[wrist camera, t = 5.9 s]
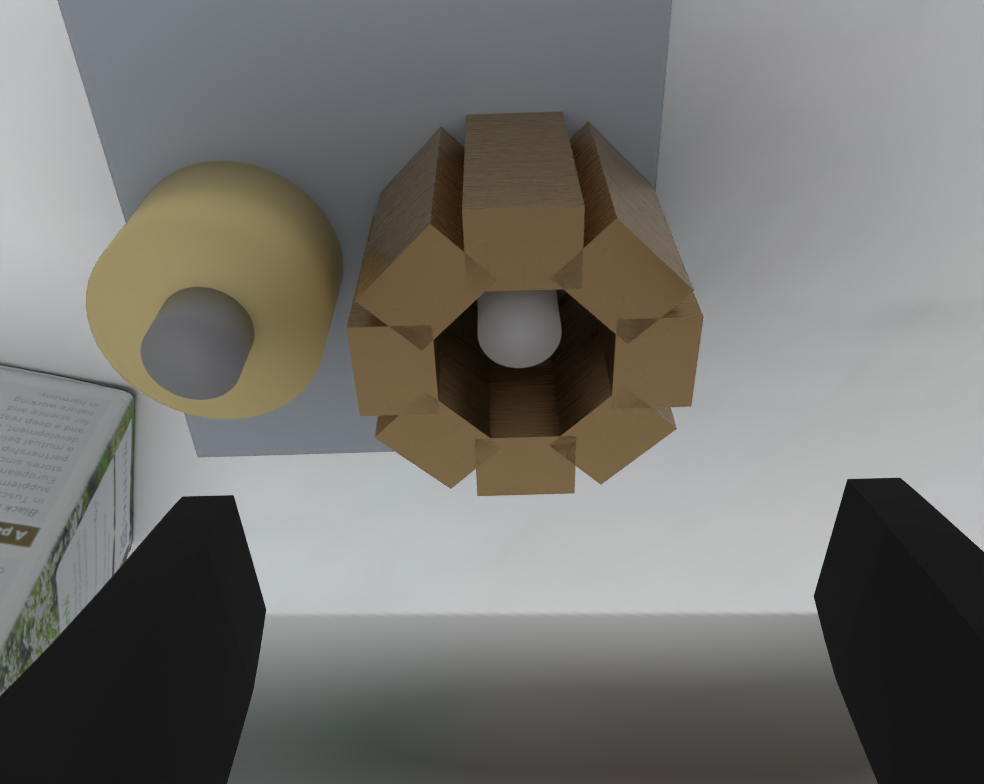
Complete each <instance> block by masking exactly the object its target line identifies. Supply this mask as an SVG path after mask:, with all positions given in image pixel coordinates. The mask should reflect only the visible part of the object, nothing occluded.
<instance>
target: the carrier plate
mask: <svg viewBox="0 0 984 784" xmlns="http://www.w3.org/2000/svg"><path fill="white" fill-rule="evenodd" d="M671 3H672V0H58V4H59V7H60V10H61V13H62V17H63V20H64V23H65V26H66V30H67V33H68V36H69V39H70V43H71V46H72V49H73V52H74V56H75V59H76V62H77V65H78V69H79V72H80V75H81V78H82V82H83V85H84V88H85V91H86V95H87V98H88V101H89V105H90V108H91V111H92V114H93V118H94V121H95V124H96V127H97V131H98V134H99V137H100V140H101V144H102V147H103V150H104V153H105V157H106V160H107V163H108V166H109V170H110V173H111V176H112V179H113V183H114V186H115V189H116V192H117V196H118V199H119V202H120V205H121V209H122V212H123V215H124V218H125V222H126V224H125V225H124V226H123V228H122V229H121V230H120V232H119V233H118V234H117V236H116V237H115V238H114V239H113V241H112V242H111V243H110V245H109V246H108V247H107V249H106V250H105V251H104V252H103V254H102V255H101V256H100V258H99V260H98V261H97V263H96V264H95V266H94V268H93V270H92V273H91V275H90V278H89V281H88V286H87V291H86V310H87V317H88V321H89V325H90V328H91V332H92V334H93V336H94V339H95V341H96V343H97V345H98V347H99V348H100V350H101V352H102V353H103V355H104V357H105V358H106V359H107V360H108V362H109V363H110V364H111V366H112V367H113V368H114V369H115V370H116V371H117V372H118V373H119V374H120V375H121V376H122V377H123V378H124V379H125V380H126V381H127V382H129V383H130V384H131V385H132V386H133V387H134V388H136V389H137V390H139V391H140V392H142V393H143V394H145V395H146V396H148V397H150V398H151V399H153V400H155V401H157V402H159V403H161V404H163V405H165V406H168V407H170V408H172V409H175V410H178V411H181V412H184V414H185V417H186V420H187V424H188V427H189V430H190V433H191V437H192V440H193V443H194V446H195V450H196V453H197V456H198V457H226V456H259V455H293V454H326V453H359V452H393V451H394V450H392V449H391V448H389V447H388V446H386V445H385V444H383V443H382V442H380V441H379V440H377V439H376V438H375V432H376V425H377V419H378V416H360V413H359V407H358V400H357V394H356V387H355V381H354V374H353V368H352V361H351V355H350V348H349V342H348V335H347V329H346V327H347V323H348V319H349V315H350V310H351V306H352V302H353V298H354V294H355V289H356V285H357V281H358V277H359V273H360V268H361V264H362V260H363V256H364V252H365V247H366V243H367V239H368V235H369V231H370V226H371V222H372V218H373V215H375V214H376V209H377V205H378V201H379V197H380V192H381V191H382V190H383V189H384V188H385V187H386V186H387V185H388V183H389V182H390V181H391V180H392V179H393V178H394V177H395V176H396V175H397V174H398V172H399V171H400V170H401V169H402V168H403V167H404V166H405V165H406V164H407V163H408V162H409V160H410V159H411V158H412V157H413V156H414V155H415V154H416V153H417V152H418V151H419V150H420V148H421V147H422V146H423V145H424V144H425V143H426V142H427V141H428V140H429V139H430V137H431V136H432V135H433V134H434V133H435V132H436V131H437V130H438V129H439V128H440V127H443V128H444V129H445V130H446V131H447V132H448V133H449V134H450V135H451V136H453V137H454V138H455V139H456V140H457V141H458V142H459V143H460V144H461V145H463V146H464V147H465V132H466V115H469V114H499V113H529V112H560V111H563V115H564V119H565V123H566V128H567V132H568V136H569V140H570V139H571V138H572V137H573V136H574V135H575V134H576V133H577V132H578V131H579V130H580V129H581V128H582V127H583V126H584V125H585V124H586V123H587V122H588V121H589V122H590V123H591V124H592V125H593V126H594V127H595V128H596V129H597V130H598V131H599V132H600V133H601V134H602V135H603V136H604V137H605V138H606V139H607V140H608V141H609V142H610V143H611V144H612V145H613V146H614V147H615V148H616V149H617V150H618V151H619V152H620V153H621V154H622V155H623V156H624V157H625V158H626V159H627V160H628V161H629V162H630V163H631V164H632V165H633V166H634V167H635V168H636V169H637V170H638V171H639V172H640V173H641V174H642V175H643V176H644V177H645V178H646V179H647V180H648V181H649V182H650V183H651V185H652V187H653V190H654V192H655V187H656V176H657V164H658V153H659V141H660V130H661V118H662V107H663V95H664V84H665V72H666V61H667V49H668V37H669V26H670V14H671ZM566 294H567V292H566V291H565V290H564V289H555V290H523V291H491V292H484V293H483V294H482V295H481V296H480V297H479V298H478V299H476V300H475V301H474V302H475V303H476V304H477V305H478V341H479V344H480V346H481V348H482V350H483V352H484V353H485V354H486V355H487V356H488V357H489V358H490V359H491V360H493V361H494V362H496V363H498V364H500V365H503V366H506V367H511V368H526V367H531V366H534V365H537V364H539V363H541V362H543V361H545V360H546V359H547V358H549V357H550V356H551V355H552V354H553V353H554V351H555V350H556V349H557V347H558V345H559V343H560V340H561V334H562V330H561V322H560V314H559V307H558V301H559V300H560V299H561V298H562V297H564V296H565V295H566Z"/></svg>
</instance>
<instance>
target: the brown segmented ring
mask: <svg viewBox="0 0 984 784" xmlns="http://www.w3.org/2000/svg"><path fill="white" fill-rule="evenodd" d="M555 289H564V290H565V291H566V292H567V294H566V295H565V296H564V297H562V298H561V299H560V300H559V301H558V307H559V314H560V322H561V330H562V334H561V340H560V343H559V345H558V347H557V349H556V350H555V351H554V353H553V354H552V355H551V356H550V357H549V358H547V359H546V360H545V361H543V362H541V363H539V364H537V365H534V366H531V367H526V368H511V367H506V366H503V365H500V364H498V363H496V362H494V361H493V360H491V359H490V358H489V357H488V356H487V355H486V354H485V353H484V352H483V350H482V348H481V346H480V344H479V341H478V305H477V304H476V303H475V302H474V301H475V300H476V299H478V298H479V297H480V296H481V295H482V294H483V293H484V292H491V291H523V290H555ZM693 291H694V289H693V287H692V284H691V282H690V279H689V277H688V274H687V272H686V270H685V267H684V265H683V262H682V260H681V257H680V255H679V252H678V250H677V247H676V245H675V242H674V240H673V237H672V235H671V232H670V230H669V227H668V225H667V222H666V220H665V217H664V215H663V212H662V210H661V207H660V205H659V202H658V200H657V197H656V195H655V192H654V190H653V187H652V185H651V183H650V182H649V181H648V180H647V179H646V178H645V177H644V176H643V175H642V174H641V173H640V172H639V171H638V170H637V169H636V168H635V167H634V166H633V165H632V164H631V163H630V162H629V161H628V160H627V159H626V158H625V157H624V156H623V155H622V154H621V153H620V152H619V151H618V150H617V149H616V148H615V147H614V146H613V145H612V144H611V143H610V142H609V141H608V140H607V139H606V138H605V137H604V136H603V135H602V134H601V133H600V132H599V131H598V130H597V129H596V128H595V127H594V126H593V125H592V124H591V123H590V122H589V121H588V122H587V123H586V124H585V125H584V126H583V127H582V128H581V129H580V130H579V131H578V132H577V133H576V134H575V135H574V136H573V137H572V138H571V139H570V140H569V136H568V132H567V128H566V123H565V119H564V115H563V111H560V112H529V113H499V114H469V115H466V132H465V147H464V146H463V145H461V144H460V143H459V142H458V141H457V140H456V139H455V138H454V137H453V136H451V135H450V134H449V133H448V132H447V131H446V130H445V129H444V128H443V127H440V128H439V129H438V130H437V131H436V132H435V133H434V134H433V135H432V136H431V137H430V139H429V140H428V141H427V142H426V143H425V144H424V145H423V146H422V147H421V148H420V150H419V151H418V152H417V153H416V154H415V155H414V156H413V157H412V158H411V159H410V160H409V162H408V163H407V164H406V165H405V166H404V167H403V168H402V169H401V170H400V171H399V172H398V174H397V175H396V176H395V177H394V178H393V179H392V180H391V181H390V182H389V183H388V185H387V186H386V187H385V188H384V189H383V190H382V191H381V192H380V197H379V201H378V205H377V209H376V214H375V215H373V218H372V222H371V226H370V231H369V235H368V239H367V243H366V247H365V252H364V256H363V260H362V264H361V268H360V273H359V277H358V281H357V285H356V289H355V294H354V298H353V302H352V306H351V310H350V315H349V319H348V323H347V327H346V329H347V335H348V342H349V348H350V355H351V361H352V368H353V374H354V381H355V387H356V394H357V400H358V407H359V413H360V416H378V419H377V425H376V432H375V438H376V439H377V440H379V441H380V442H382V443H383V444H385V445H386V446H388V447H389V448H391V449H392V450H394V451H395V452H397V453H398V454H400V455H401V456H403V457H404V458H406V459H407V460H409V461H410V462H412V463H413V464H415V465H416V466H418V467H419V468H421V469H422V470H424V471H425V472H427V473H428V474H430V475H431V476H433V477H434V478H436V479H437V480H439V481H440V482H442V483H443V484H445V485H446V486H447V487H449V488H450V489H451V488H453V487H454V486H455V485H456V484H457V483H459V482H460V481H461V480H462V479H464V478H465V477H466V476H467V475H468V474H470V473H471V472H472V471H473V470H475V469H476V476H477V494H478V496H495V495H530V494H565V493H574V488H575V466H577V467H578V468H579V469H581V470H582V471H583V472H585V473H586V474H588V475H589V476H590V477H592V478H593V479H594V480H596V481H597V482H598V483H600V484H602V483H604V482H605V481H606V480H608V479H609V478H610V477H612V476H613V475H614V474H616V473H617V472H619V471H620V470H621V469H623V468H624V467H625V466H627V465H628V464H629V463H631V462H632V461H633V460H635V459H636V458H638V457H639V456H640V455H642V454H643V453H644V452H646V451H647V450H648V449H650V448H651V447H652V446H654V445H655V444H657V443H658V442H659V441H661V440H662V439H663V438H665V437H666V436H667V435H669V434H670V433H671V432H673V431H674V430H676V429H677V428H676V425H675V421H674V418H673V414H672V411H671V408H670V407H686V406H691V403H692V396H693V389H694V381H695V374H696V366H697V359H698V352H699V344H700V337H701V329H702V322H703V315H702V313H701V310H700V308H699V305H698V303H697V300H696V297H695V295H694V292H693Z"/></svg>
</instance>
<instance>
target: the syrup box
mask: <svg viewBox="0 0 984 784" xmlns="http://www.w3.org/2000/svg"><path fill="white" fill-rule="evenodd" d="M133 428H134V398H133V396H132V395H131V394H130V393H128V392H125V391H122V390H118V389H114V388H109V387H104V386H100V385H96V384H92V383H87V382H83V381H78V380H74V379H70V378H65V377H60V376H55V375H50V374H45V373H39V372H33V371H28V370H24V369H19V368H13V367H6V366H1V365H0V696H1V695H2V694H3V693H4V692H5V691H6V690H7V689H8V688H9V687H10V686H11V685H12V684H13V683H14V682H15V681H16V679H17V678H18V677H19V676H20V675H21V674H22V673H23V672H24V671H25V670H26V669H27V668H28V667H29V666H30V665H31V664H32V663H33V662H34V661H35V660H36V659H37V658H38V657H39V656H40V655H41V654H42V653H43V652H44V651H45V650H46V649H47V648H48V647H49V646H50V644H51V643H52V642H53V641H54V640H55V639H56V638H57V637H58V636H59V635H60V634H61V632H62V631H63V630H64V629H65V628H66V627H67V626H68V625H69V624H70V623H71V622H72V620H73V619H74V618H75V617H76V616H77V615H78V614H79V613H80V612H81V611H82V609H83V608H84V607H85V606H86V605H87V604H88V603H89V602H90V601H91V600H92V598H93V597H94V596H95V595H96V594H97V593H98V592H99V591H100V590H101V588H102V587H103V586H104V585H105V584H106V583H107V582H108V581H109V579H110V578H111V577H112V576H113V575H114V574H115V573H116V571H117V570H118V569H119V568H120V567H121V566H122V565H123V563H124V562H125V561H126V559H127V556H128V553H129V551H130V550H131V544H132V469H133Z"/></svg>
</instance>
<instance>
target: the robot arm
mask: <svg viewBox="0 0 984 784" xmlns="http://www.w3.org/2000/svg"><path fill="white" fill-rule="evenodd" d="M814 599H815V603H816V607H817V611H818V615H819V619H820V622H821V627H822V631H823V635H824V639H825V643H826V646H827V650H828V653H829V657H830V660H831V663H832V667H833V671H834V674H835V678H836V680H837V683H838V686H839V688H840V691H841V693H842V696H843V698H844V701H845V703H846V706H847V708H848V711H849V713H850V716H851V718H852V721H853V723H854V726H855V728H856V731H857V733H858V736H859V738H860V741H861V743H862V746H863V748H864V750H865V753H866V755H867V758H868V760H869V763H870V765H871V768H872V770H873V773H874V775H875V777H876V780H877V782H878V784H984V552H983V551H982V550H981V549H980V548H979V547H978V546H977V545H975V544H974V543H973V542H972V541H971V540H970V539H969V538H968V537H966V536H965V535H964V534H963V533H962V532H961V531H960V530H959V529H958V528H957V527H955V526H954V525H953V524H952V523H951V522H950V521H949V520H948V519H947V518H945V517H944V516H943V515H942V514H941V513H940V512H939V511H938V510H937V509H935V508H934V507H933V506H932V505H931V504H930V503H929V502H928V501H926V500H925V499H924V498H923V497H922V496H921V495H920V494H918V493H917V492H916V491H915V490H914V489H913V488H912V487H910V486H909V485H908V484H907V483H906V482H905V481H903V480H902V479H901V478H874V479H847V483H846V486H845V490H844V493H843V497H842V500H841V504H840V507H839V510H838V514H837V517H836V521H835V524H834V528H833V531H832V535H831V538H830V542H829V545H828V549H827V552H826V556H825V559H824V563H823V566H822V569H821V573H820V576H819V580H818V583H817V587H816V590H815V594H814ZM265 614H266V607H265V604H264V600H263V597H262V593H261V590H260V586H259V583H258V579H257V576H256V572H255V569H254V565H253V562H252V558H251V555H250V551H249V548H248V544H247V541H246V537H245V534H244V530H243V527H242V523H241V520H240V516H239V513H238V509H237V506H236V502H235V499H234V495H228V496H190V497H182V498H181V499H180V500H179V501H178V502H177V503H176V504H175V505H174V506H173V507H172V508H171V509H170V511H169V512H168V513H167V514H166V515H165V516H164V517H163V518H162V520H161V521H160V522H159V523H158V524H157V525H156V526H155V528H154V529H153V530H152V531H151V532H150V533H149V535H148V536H147V537H146V538H145V539H144V540H143V541H142V543H141V544H140V545H139V546H138V547H137V548H136V550H135V551H134V552H133V553H132V554H131V555H130V557H129V558H128V559H127V560H126V561H125V562H124V563H123V565H122V566H121V567H120V568H119V569H118V570H117V571H116V573H115V574H114V575H113V576H112V577H111V578H110V579H109V581H108V582H107V583H106V584H105V585H104V586H103V587H102V588H101V590H100V591H99V592H98V593H97V594H96V595H95V596H94V597H93V598H92V600H91V601H90V602H89V603H88V604H87V605H86V606H85V607H84V608H83V609H82V611H81V612H80V613H79V614H78V615H77V616H76V617H75V618H74V619H73V620H72V622H71V623H70V624H69V625H68V626H67V627H66V628H65V629H64V630H63V631H62V632H61V634H60V635H59V636H58V637H57V638H56V639H55V640H54V641H53V642H52V643H51V644H50V646H49V647H48V648H47V649H46V650H45V651H44V652H43V653H42V654H41V655H40V656H39V657H38V658H37V659H36V660H35V661H34V662H33V663H32V664H31V665H30V666H29V667H28V668H27V669H26V670H25V671H24V672H23V673H22V674H21V675H20V676H19V677H18V678H17V679H16V681H15V682H14V683H13V684H12V685H11V686H10V687H9V688H8V689H7V690H6V691H5V692H4V693H3V694H2V695H1V696H0V784H227V781H228V777H229V774H230V771H231V767H232V764H233V760H234V757H235V753H236V750H237V746H238V743H239V739H240V736H241V732H242V729H243V725H244V722H245V718H246V715H247V711H248V707H249V704H250V700H251V697H252V693H253V689H254V683H255V677H256V671H257V665H258V660H259V654H260V647H261V640H262V634H263V627H264V620H265Z"/></svg>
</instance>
